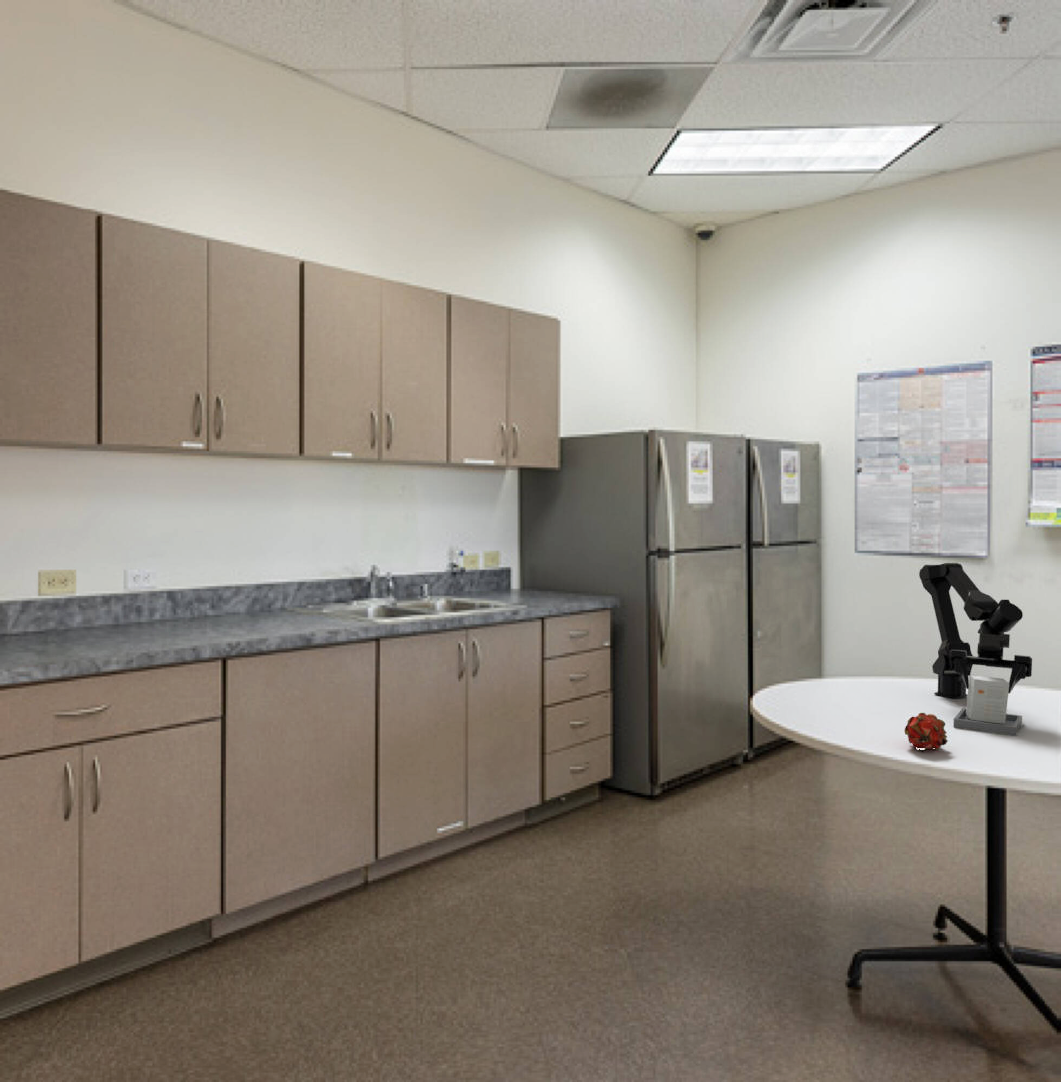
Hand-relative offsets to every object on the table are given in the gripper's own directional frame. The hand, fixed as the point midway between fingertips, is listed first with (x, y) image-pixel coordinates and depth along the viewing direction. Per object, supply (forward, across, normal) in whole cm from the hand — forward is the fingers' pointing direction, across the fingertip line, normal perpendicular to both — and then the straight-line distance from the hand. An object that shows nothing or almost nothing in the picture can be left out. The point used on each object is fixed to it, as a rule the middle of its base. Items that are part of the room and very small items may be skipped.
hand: (988, 690), depth 215 cm
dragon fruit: (+30, -11, -18) cm, 36 cm away
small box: (+6, 0, +4) cm, 8 cm away
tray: (+8, 0, +4) cm, 9 cm away
